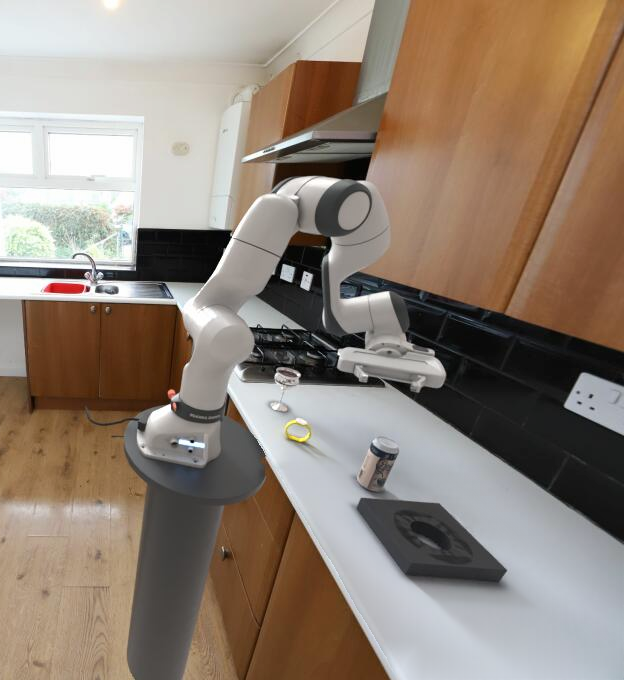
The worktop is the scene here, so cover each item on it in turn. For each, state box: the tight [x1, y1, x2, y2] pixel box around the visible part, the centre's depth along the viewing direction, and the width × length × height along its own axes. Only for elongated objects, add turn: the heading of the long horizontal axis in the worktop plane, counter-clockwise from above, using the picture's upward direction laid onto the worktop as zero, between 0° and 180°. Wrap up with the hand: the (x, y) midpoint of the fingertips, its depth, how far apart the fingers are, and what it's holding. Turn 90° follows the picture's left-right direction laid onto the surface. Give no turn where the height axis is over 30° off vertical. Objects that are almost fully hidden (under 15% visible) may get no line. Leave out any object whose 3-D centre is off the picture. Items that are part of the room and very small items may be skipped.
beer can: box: [356, 436, 400, 493], centre depth 77 cm, size 5×5×12 cm
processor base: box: [356, 497, 508, 583], centre depth 66 cm, size 16×14×3 cm
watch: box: [284, 417, 312, 443], centre depth 92 cm, size 6×3×6 cm, turn 65°
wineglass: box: [269, 366, 302, 412], centre depth 106 cm, size 7×7×12 cm
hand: (388, 384), depth 79 cm, fingers open, 8 cm apart
